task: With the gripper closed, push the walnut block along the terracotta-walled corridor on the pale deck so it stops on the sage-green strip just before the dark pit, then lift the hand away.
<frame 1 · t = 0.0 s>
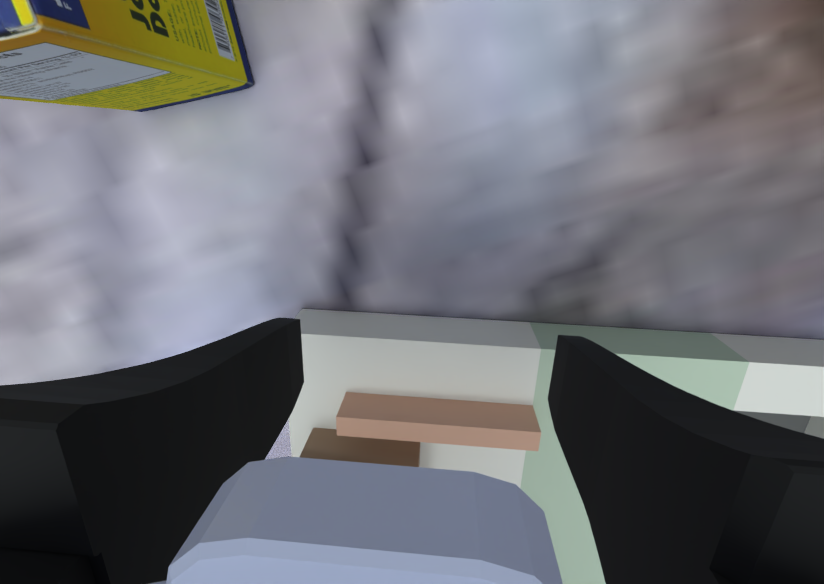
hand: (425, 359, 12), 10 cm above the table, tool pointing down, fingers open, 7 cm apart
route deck: (547, 450, 25), on the table
supplement box: (177, 29, 19), on the table
walnut block: (366, 474, 23), point 3 cm above the table, touching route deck
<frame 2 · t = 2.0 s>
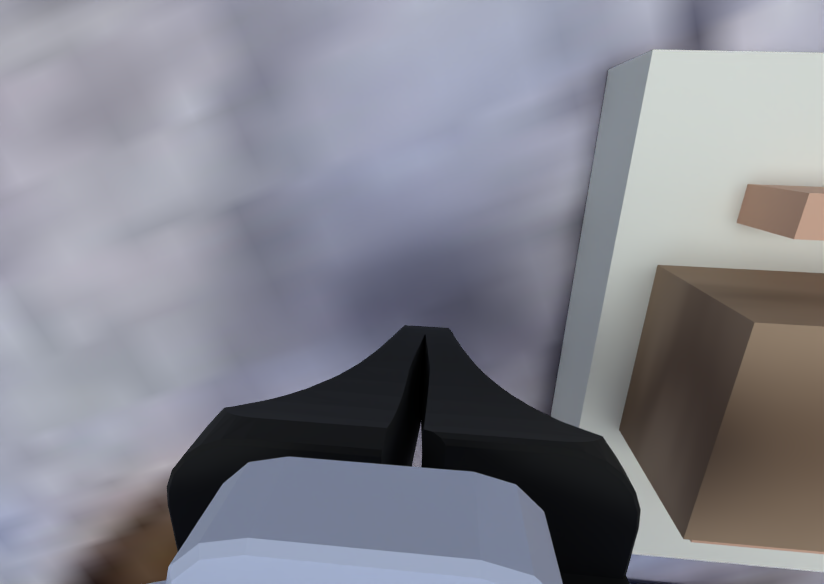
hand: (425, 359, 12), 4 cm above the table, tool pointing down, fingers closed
walnut block: (732, 359, 13), point 3 cm above the table, touching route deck
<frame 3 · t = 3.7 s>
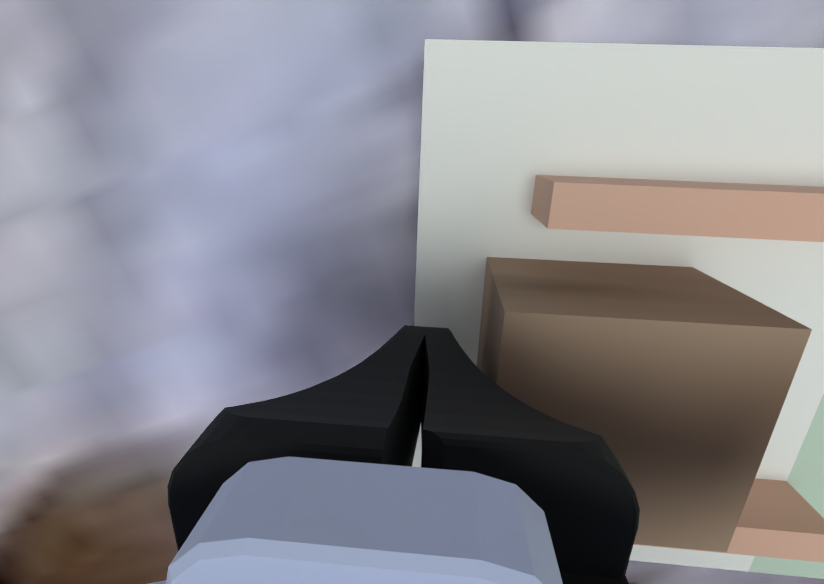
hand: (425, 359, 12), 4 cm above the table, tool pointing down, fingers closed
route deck: (821, 330, 15), on the table
walnut block: (572, 351, 13), point 3 cm above the table, touching gripper, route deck
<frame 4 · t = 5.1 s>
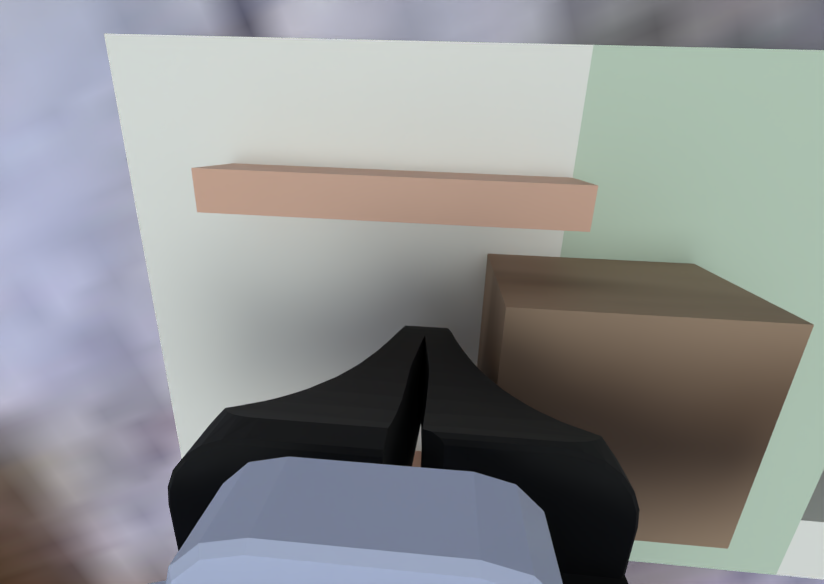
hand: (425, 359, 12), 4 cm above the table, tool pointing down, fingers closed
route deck: (583, 316, 15), on the table
walnut block: (573, 348, 13), point 3 cm above the table, touching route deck
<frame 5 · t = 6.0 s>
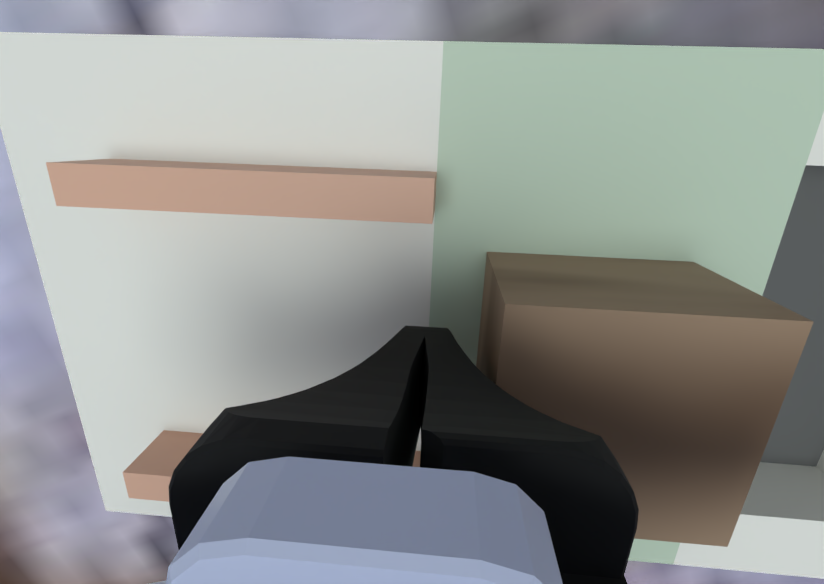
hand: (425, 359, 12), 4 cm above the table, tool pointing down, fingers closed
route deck: (486, 310, 16), on the table
walnut block: (572, 347, 13), point 3 cm above the table, touching gripper, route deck
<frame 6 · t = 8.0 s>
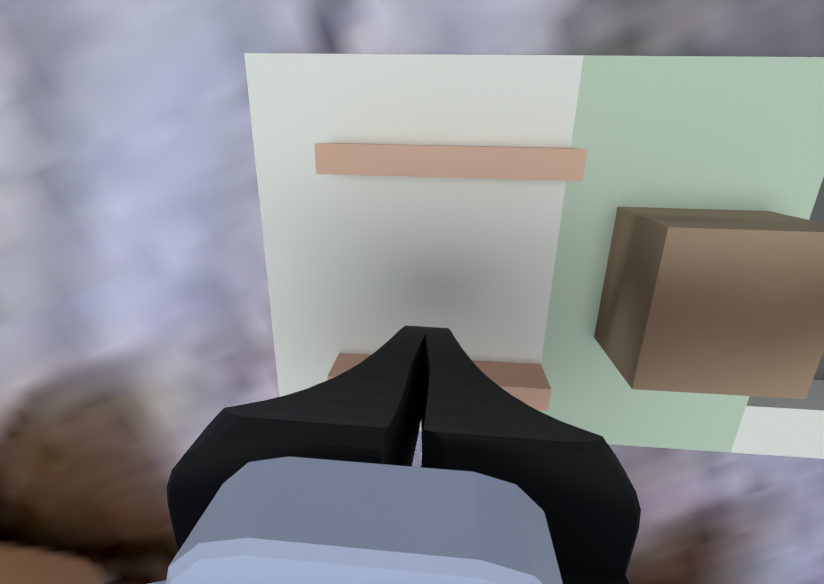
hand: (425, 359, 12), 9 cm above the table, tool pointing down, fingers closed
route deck: (581, 259, 20), on the table
walnut block: (676, 278, 17), point 3 cm above the table, touching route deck
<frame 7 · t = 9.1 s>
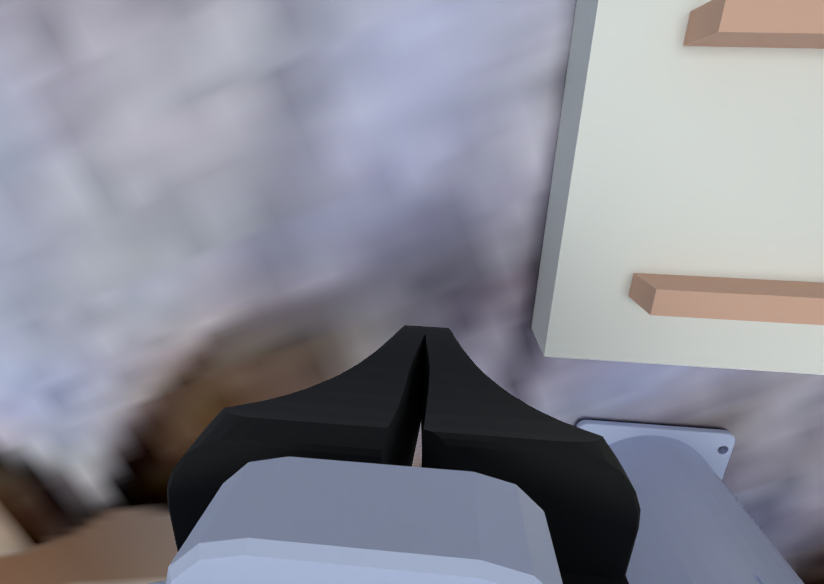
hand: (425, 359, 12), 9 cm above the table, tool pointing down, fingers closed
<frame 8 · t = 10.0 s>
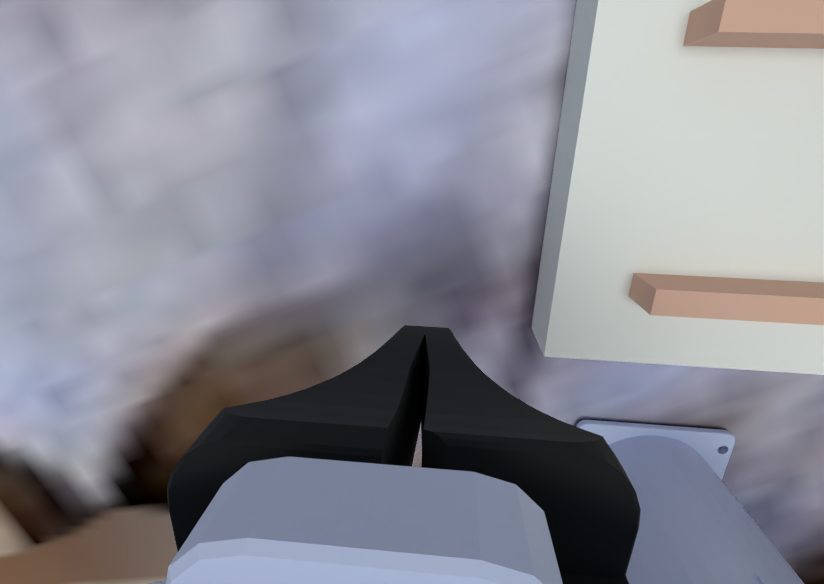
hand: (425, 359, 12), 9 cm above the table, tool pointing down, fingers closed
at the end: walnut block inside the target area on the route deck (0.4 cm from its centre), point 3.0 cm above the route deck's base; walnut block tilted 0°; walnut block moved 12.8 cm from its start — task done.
